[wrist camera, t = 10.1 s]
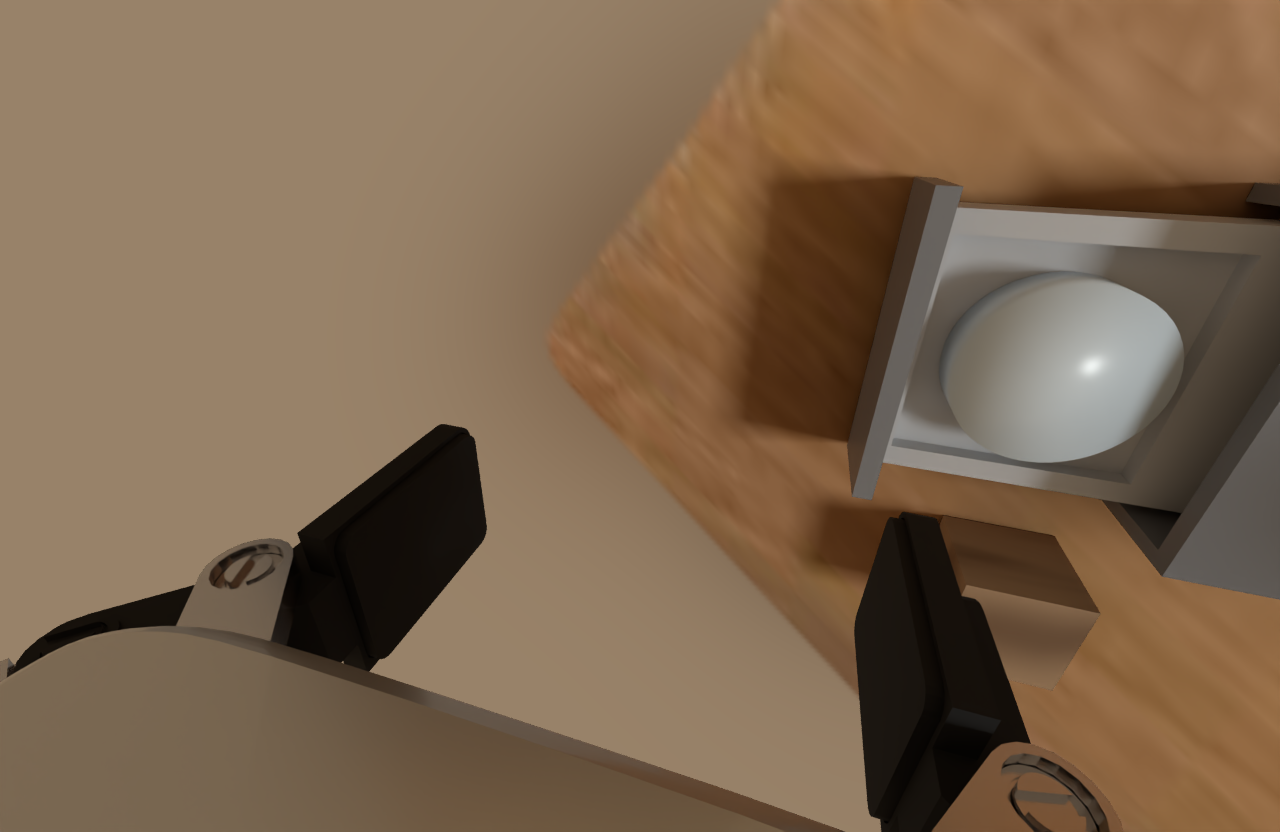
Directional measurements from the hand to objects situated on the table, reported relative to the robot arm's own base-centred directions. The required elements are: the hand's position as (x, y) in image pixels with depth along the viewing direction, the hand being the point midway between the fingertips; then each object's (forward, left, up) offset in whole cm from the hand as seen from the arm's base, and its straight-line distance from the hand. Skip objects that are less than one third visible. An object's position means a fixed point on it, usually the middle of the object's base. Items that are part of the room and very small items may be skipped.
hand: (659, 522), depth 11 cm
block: (-12, -14, -17) cm, 25 cm away
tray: (0, -13, -17) cm, 21 cm away
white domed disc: (0, -12, -15) cm, 19 cm away
